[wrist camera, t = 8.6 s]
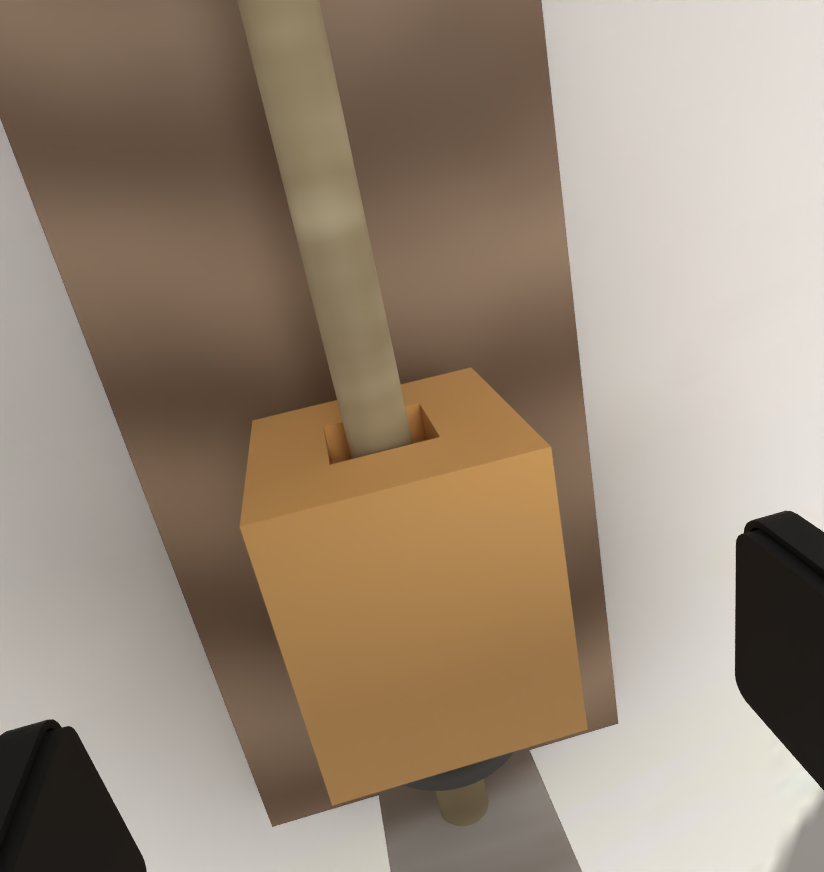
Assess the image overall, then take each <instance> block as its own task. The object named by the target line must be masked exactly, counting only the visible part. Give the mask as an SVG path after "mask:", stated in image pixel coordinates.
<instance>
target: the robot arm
mask: <svg viewBox="0 0 824 872" xmlns="http://www.w3.org/2000/svg"><path fill="white" fill-rule="evenodd" d="M735 678H736V682H737V686H738V688H739V691H740V693H741V694H742V696H743V698H744V699H745V701H746V702H747V703H748V704H749V705H750V707H751V708H752V709H753V710H754V711H755V712H756V713H757V715H758V716H759V717H760V718H761V719H762V720H763V721H764V723H765V724H766V725H767V726H768V727H769V728H770V729H771V731H772V732H773V733H774V734H775V735H776V736H777V738H778V739H779V740H780V741H781V742H782V743H783V744H784V746H785V747H786V748H787V749H788V750H789V751H790V752H791V754H792V755H793V756H794V757H795V758H796V759H797V760H798V762H799V763H800V764H801V765H802V766H803V767H804V768H805V770H806V771H807V772H808V773H809V774H810V775H811V776H812V778H813V779H814V780H815V781H816V782H817V783H818V784H819V786H820V787H821V788H822V789H823V790H824V532H823V531H821V530H820V529H818V528H817V527H815V526H814V525H813V524H811V523H810V522H808V521H807V520H805V519H804V518H802V517H801V516H799V515H798V514H796V513H794V512H792V511H783V512H780V513H776V514H773V515H769V516H766V517H762V518H758V519H755V520H751V521H750V522H748V523H747V524H746V526H745V528H744V534H741V535H739V536H738V538H737V540H736V609H735ZM0 872H146V866H145V861H144V859H143V856H142V855H141V853H140V851H139V849H138V847H137V845H136V843H135V841H134V839H133V838H132V836H131V834H130V832H129V830H128V828H127V826H126V824H125V823H124V821H123V819H122V817H121V815H120V813H119V811H118V809H117V807H116V806H115V804H114V802H113V800H112V798H111V796H110V794H109V792H108V791H107V789H106V787H105V785H104V783H103V781H102V779H101V777H100V775H99V774H98V772H97V770H96V768H95V766H94V764H93V762H92V760H91V759H90V757H89V755H88V753H87V751H86V749H85V747H84V745H83V743H82V742H81V740H80V738H79V736H78V734H77V732H76V731H75V730H74V728H72V727H71V726H67V727H63V728H62V727H61V726H60V725H59V723H58V722H56V721H55V720H45V721H42V722H38V723H35V724H31V725H28V726H24V727H21V728H17V729H14V730H10V731H6V732H5V733H3V734H2V735H1V736H0Z"/></svg>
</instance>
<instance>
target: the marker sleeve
mask: <svg viewBox="0 0 824 872" xmlns="http://www.w3.org/2000/svg"><path fill="white" fill-rule="evenodd" d="M401 389H402V394H403V399H404V403H405V408H406V413H407V417H408V422H409V427H410V432H411V436H412V441H413V444H410V445H406V446H402V447H398V448H394V449H390V450H386V451H382V452H378V453H374V454H370V455H366V456H363V457H359V458H355V459H352V457H351V453H350V449H349V445H348V441H347V437H346V433H345V429H344V425H343V421H342V417H341V413H340V409H339V405H338V401H337V400H335V401H331V402H327V403H323V404H318V405H314V406H310V407H306V408H302V409H298V410H294V411H290V412H285V413H281V414H277V415H273V416H269V417H265V418H261V419H257V420H253V421H252V429H251V437H250V445H249V453H248V461H247V470H246V478H245V486H244V494H243V503H242V511H241V519H240V529H241V532H242V536H243V539H244V542H245V545H246V548H247V551H248V554H249V557H250V560H251V563H252V566H253V569H254V572H255V575H256V578H257V581H258V584H259V587H260V590H261V593H262V596H263V599H264V602H265V605H266V608H267V611H268V614H269V617H270V620H271V623H272V626H273V629H274V632H275V635H276V638H277V641H278V644H279V647H280V650H281V653H282V656H283V659H284V662H285V665H286V668H287V671H288V674H289V677H290V680H291V683H292V686H293V689H294V692H295V695H296V698H297V701H298V704H299V707H300V710H301V713H302V716H303V719H304V722H305V725H306V728H307V731H308V734H309V737H310V740H311V743H312V746H313V749H314V752H315V755H316V758H317V761H318V764H319V767H320V770H321V773H322V776H323V779H324V782H325V785H326V788H327V791H328V794H329V797H330V800H331V804H332V806H333V805H337V804H340V803H343V802H347V801H350V800H353V799H357V798H360V797H363V796H367V795H370V794H373V793H377V792H380V791H383V790H387V789H390V788H394V787H397V786H400V785H404V784H407V783H410V782H414V781H417V780H420V779H424V778H427V777H430V776H434V775H437V774H440V773H444V772H447V771H450V770H454V769H457V768H461V767H464V766H467V765H471V764H474V763H477V762H481V761H484V760H487V759H491V758H494V757H497V756H501V755H504V754H507V753H511V752H514V751H518V750H521V749H524V748H528V747H531V746H534V745H538V744H541V743H544V742H548V741H551V740H554V739H558V738H561V737H564V736H568V735H571V734H575V733H578V732H581V731H585V730H588V729H587V721H586V713H585V705H584V698H583V690H582V682H581V674H580V667H579V659H578V651H577V643H576V636H575V628H574V620H573V612H572V605H571V597H570V589H569V581H568V574H567V566H566V558H565V550H564V543H563V535H562V527H561V519H560V512H559V504H558V496H557V488H556V481H555V473H554V465H553V457H552V450H551V446H550V445H549V444H548V443H547V442H546V441H545V440H544V439H543V438H542V437H541V436H540V435H539V434H538V433H537V432H536V431H535V430H534V429H533V428H532V427H531V426H530V425H529V424H528V423H527V422H526V421H525V420H524V419H523V418H522V417H521V416H520V415H519V414H518V413H517V412H516V411H515V410H514V409H513V408H512V407H511V406H510V405H509V404H508V403H507V402H506V401H505V400H504V399H503V398H502V397H501V396H500V395H499V394H498V393H497V392H496V391H495V390H494V389H493V388H492V387H491V386H490V385H489V384H488V383H487V382H486V381H485V380H484V379H483V378H482V377H481V376H480V375H479V374H478V373H476V372H475V371H474V370H473V369H472V368H467V369H462V370H458V371H454V372H450V373H446V374H442V375H438V376H434V377H430V378H425V379H421V380H417V381H413V382H409V383H405V384H401Z"/></svg>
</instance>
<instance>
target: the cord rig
mask: <svg viewBox="0 0 824 872" xmlns="http://www.w3.org/2000/svg"><path fill="white" fill-rule="evenodd" d="M0 119H1V121H2V124H3V127H4V129H5V132H6V134H7V137H8V140H9V142H10V145H11V147H12V150H13V153H14V155H15V158H16V160H17V163H18V166H19V168H20V171H21V173H22V176H23V179H24V181H25V184H26V186H27V189H28V192H29V194H30V197H31V200H32V202H33V205H34V207H35V210H36V213H37V215H38V218H39V220H40V223H41V226H42V228H43V231H44V233H45V236H46V239H47V241H48V244H49V246H50V249H51V252H52V254H53V257H54V259H55V262H56V265H57V267H58V270H59V272H60V275H61V278H62V280H63V283H64V285H65V288H66V291H67V293H68V296H69V298H70V301H71V304H72V306H73V309H74V311H75V314H76V317H77V319H78V322H79V324H80V327H81V330H82V332H83V335H84V337H85V340H86V343H87V345H88V348H89V351H90V353H91V356H92V358H93V361H94V364H95V366H96V369H97V371H98V374H99V377H100V379H101V382H102V384H103V387H104V390H105V392H106V395H107V397H108V400H109V403H110V405H111V408H112V410H113V413H114V416H115V418H116V421H117V423H118V426H119V429H120V431H121V434H122V436H123V439H124V442H125V444H126V447H127V449H128V452H129V455H130V457H131V460H132V462H133V465H134V468H135V470H136V473H137V475H138V478H139V481H140V483H141V486H142V488H143V491H144V494H145V496H146V499H147V502H148V504H149V507H150V509H151V512H152V515H153V517H154V520H155V522H156V525H157V528H158V530H159V533H160V535H161V538H162V541H163V543H164V546H165V548H166V551H167V554H168V556H169V559H170V561H171V564H172V567H173V569H174V572H175V574H176V577H177V580H178V582H179V585H180V587H181V590H182V593H183V595H184V598H185V600H186V603H187V606H188V608H189V611H190V613H191V616H192V619H193V621H194V624H195V626H196V629H197V632H198V634H199V637H200V639H201V642H202V645H203V647H204V650H205V653H206V655H207V658H208V660H209V663H210V666H211V668H212V671H213V673H214V676H215V679H216V681H217V684H218V686H219V689H220V692H221V694H222V697H223V699H224V702H225V705H226V707H227V710H228V712H229V715H230V718H231V720H232V723H233V725H234V728H235V731H236V733H237V736H238V738H239V741H240V744H241V746H242V749H243V751H244V754H245V757H246V759H247V762H248V764H249V767H250V770H251V772H252V775H253V777H254V780H255V783H256V785H257V788H258V791H259V793H260V796H261V798H262V801H263V804H264V806H265V809H266V811H267V814H268V817H269V819H270V822H271V824H272V827H273V826H277V825H280V824H283V823H287V822H290V821H293V820H297V819H300V818H303V817H307V816H310V815H313V814H317V813H320V812H323V811H327V810H330V809H333V808H337V807H340V806H343V805H347V804H350V803H354V802H357V801H360V800H364V799H367V798H370V797H374V796H377V795H379V800H380V806H381V813H382V819H383V825H384V832H385V838H386V844H387V851H388V857H389V863H390V870H391V872H582V871H581V868H580V866H579V864H578V861H577V859H576V857H575V854H574V852H573V850H572V848H571V845H570V843H569V841H568V838H567V836H566V834H565V831H564V829H563V827H562V824H561V822H560V820H559V818H558V815H557V813H556V811H555V808H554V806H553V804H552V801H551V799H550V797H549V794H548V792H547V790H546V788H545V785H544V783H543V781H542V778H541V776H540V774H539V771H538V769H537V767H536V764H535V762H534V760H533V758H532V755H531V753H530V751H529V750H531V749H534V748H538V747H541V746H544V745H548V744H551V743H554V742H558V741H561V740H564V739H568V738H571V737H574V736H578V735H581V734H585V733H588V732H591V731H595V730H598V729H601V728H605V727H608V726H611V725H615V724H618V717H617V708H616V698H615V689H614V680H613V670H612V661H611V651H610V642H609V633H608V623H607V614H606V604H605V595H604V586H603V576H602V567H601V557H600V548H599V539H598V529H597V520H596V510H595V501H594V492H593V482H592V473H591V463H590V454H589V445H588V435H587V426H586V416H585V407H584V398H583V388H582V379H581V369H580V360H579V350H578V341H577V332H576V322H575V313H574V303H573V294H572V285H571V275H570V266H569V256H568V247H567V238H566V228H565V219H564V209H563V200H562V191H561V181H560V172H559V162H558V153H557V144H556V134H555V125H554V115H553V106H552V97H551V87H550V78H549V68H548V59H547V50H546V40H545V31H544V21H543V12H542V3H541V0H0ZM467 368H472V369H473V370H474V371H475V372H476V373H478V374H479V375H480V376H481V377H482V378H483V379H484V380H485V381H486V382H487V383H488V384H489V385H490V386H491V387H492V388H493V389H494V390H495V391H496V392H497V393H498V394H499V395H500V396H501V397H502V398H503V399H504V400H505V401H506V402H507V403H508V404H509V405H510V406H511V407H512V408H513V409H514V410H515V411H516V412H517V413H518V414H519V415H520V416H521V417H522V418H523V419H524V420H525V421H526V422H527V423H528V424H529V425H530V426H531V427H532V428H533V429H534V430H535V431H536V432H537V433H538V434H539V435H540V436H541V437H542V438H543V439H544V440H545V441H546V442H547V443H548V444H549V445H550V446H551V450H552V457H553V465H554V473H555V481H556V488H557V496H558V504H559V512H560V519H561V527H562V535H563V543H564V550H565V558H566V566H567V574H568V581H569V589H570V597H571V605H572V612H573V620H574V628H575V636H576V643H577V651H578V659H579V667H580V674H581V682H582V690H583V698H584V705H585V713H586V721H587V729H588V730H585V731H581V732H578V733H575V734H571V735H568V736H564V737H561V738H558V739H554V740H551V741H548V742H544V743H541V744H538V745H534V746H531V747H528V748H524V749H521V750H518V751H514V752H511V753H507V754H504V755H501V756H497V757H494V758H491V759H487V760H484V761H481V762H477V763H474V764H471V765H467V766H464V767H461V768H457V769H454V770H450V771H447V772H444V773H440V774H437V775H434V776H430V777H427V778H424V779H420V780H417V781H414V782H410V783H407V784H404V785H400V786H397V787H394V788H390V789H387V790H383V791H380V792H377V793H373V794H370V795H367V796H363V797H360V798H357V799H353V800H350V801H347V802H343V803H340V804H337V805H333V806H332V804H331V800H330V797H329V794H328V791H327V788H326V785H325V782H324V779H323V776H322V773H321V770H320V767H319V764H318V761H317V758H316V755H315V752H314V749H313V746H312V743H311V740H310V737H309V734H308V731H307V728H306V725H305V722H304V719H303V716H302V713H301V710H300V707H299V704H298V701H297V698H296V695H295V692H294V689H293V686H292V683H291V680H290V677H289V674H288V671H287V668H286V665H285V662H284V659H283V656H282V653H281V650H280V647H279V644H278V641H277V638H276V635H275V632H274V629H273V626H272V623H271V620H270V617H269V614H268V611H267V608H266V605H265V602H264V599H263V596H262V593H261V590H260V587H259V584H258V581H257V578H256V575H255V572H254V569H253V566H252V563H251V560H250V557H249V554H248V551H247V548H246V545H245V542H244V539H243V536H242V532H241V529H240V519H241V511H242V503H243V494H244V486H245V478H246V470H247V461H248V453H249V445H250V437H251V429H252V421H253V420H257V419H261V418H265V417H269V416H273V415H277V414H281V413H285V412H290V411H294V410H298V409H302V408H306V407H310V406H314V405H318V404H323V403H327V402H331V401H335V400H337V401H338V405H339V409H340V413H341V417H342V421H343V425H344V429H345V433H346V437H347V441H348V445H349V449H350V453H351V457H352V459H355V458H359V457H363V456H366V455H370V454H374V453H378V452H382V451H386V450H390V449H394V448H398V447H402V446H406V445H410V444H413V441H412V436H411V432H410V427H409V422H408V417H407V413H406V408H405V403H404V399H403V394H402V389H401V384H405V383H409V382H413V381H417V380H421V379H425V378H430V377H434V376H438V375H442V374H446V373H450V372H454V371H458V370H462V369H467Z"/></svg>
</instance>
